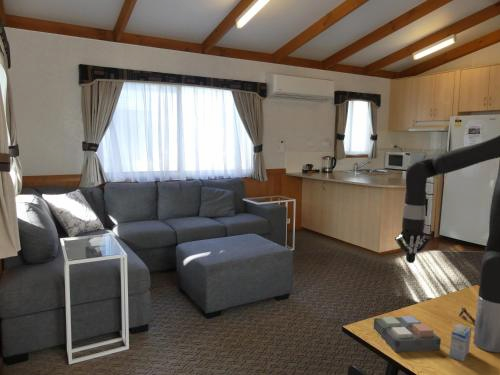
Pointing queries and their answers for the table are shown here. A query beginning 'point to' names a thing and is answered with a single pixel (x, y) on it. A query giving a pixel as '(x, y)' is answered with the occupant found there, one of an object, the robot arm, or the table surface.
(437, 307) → the table surface
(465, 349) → the medicine box
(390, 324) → the sage key
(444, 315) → the table surface
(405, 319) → the blue key
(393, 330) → the cream key
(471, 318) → the wooden post with brackets
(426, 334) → the terracotta key
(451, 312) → the table surface
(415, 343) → the keypad
